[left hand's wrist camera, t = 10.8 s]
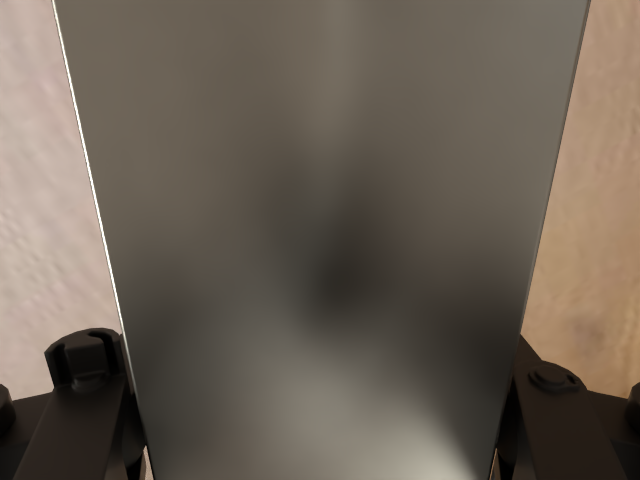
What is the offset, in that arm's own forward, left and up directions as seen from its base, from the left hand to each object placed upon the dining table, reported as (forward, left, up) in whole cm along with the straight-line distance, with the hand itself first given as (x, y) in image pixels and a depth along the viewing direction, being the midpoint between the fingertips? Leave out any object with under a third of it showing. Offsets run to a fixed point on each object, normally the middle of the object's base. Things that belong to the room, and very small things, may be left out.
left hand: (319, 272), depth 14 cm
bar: (+9, 0, -1) cm, 9 cm away
